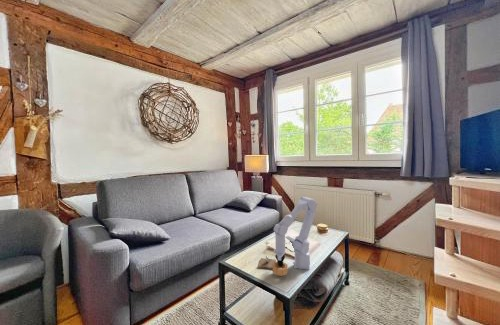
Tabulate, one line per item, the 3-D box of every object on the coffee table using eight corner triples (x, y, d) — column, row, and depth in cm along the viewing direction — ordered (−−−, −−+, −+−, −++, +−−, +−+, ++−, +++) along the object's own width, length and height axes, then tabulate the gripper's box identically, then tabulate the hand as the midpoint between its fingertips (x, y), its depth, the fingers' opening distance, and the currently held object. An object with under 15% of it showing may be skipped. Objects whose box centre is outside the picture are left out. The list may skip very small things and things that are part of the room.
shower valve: (292, 234, 171) (305, 241, 158) (292, 241, 171) (305, 248, 158) (280, 237, 165) (292, 245, 152) (280, 244, 166) (292, 252, 152)
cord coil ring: (287, 267, 128) (287, 262, 128) (286, 276, 120) (286, 270, 120) (273, 266, 130) (273, 261, 130) (272, 274, 122) (272, 268, 122)
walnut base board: (275, 261, 141) (275, 259, 141) (274, 269, 131) (274, 267, 131) (261, 259, 143) (261, 258, 143) (258, 268, 133) (258, 266, 133)
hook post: (269, 262, 138) (268, 256, 137) (268, 263, 136) (268, 257, 135) (266, 261, 138) (265, 255, 138) (265, 263, 136) (265, 257, 136)
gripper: (274, 238, 135) (275, 258, 136) (272, 249, 121) (272, 271, 122) (286, 239, 134) (286, 259, 135) (284, 250, 120) (284, 273, 121)
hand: (280, 265), depth 128 cm, fingers closed on cord coil ring
